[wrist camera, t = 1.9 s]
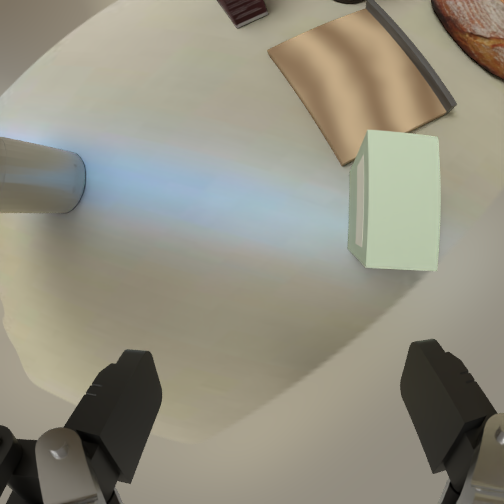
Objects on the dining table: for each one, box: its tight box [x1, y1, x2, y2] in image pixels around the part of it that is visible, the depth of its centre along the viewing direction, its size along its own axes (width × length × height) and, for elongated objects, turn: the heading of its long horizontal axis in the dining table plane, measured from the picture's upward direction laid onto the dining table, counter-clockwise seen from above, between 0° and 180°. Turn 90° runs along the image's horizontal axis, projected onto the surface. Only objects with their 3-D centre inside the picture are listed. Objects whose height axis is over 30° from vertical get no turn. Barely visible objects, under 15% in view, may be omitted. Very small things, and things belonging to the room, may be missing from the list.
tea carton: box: [348, 130, 441, 271], centre depth 23 cm, size 4×8×15 cm, turn 178°
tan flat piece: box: [267, 0, 457, 166], centre depth 28 cm, size 15×16×3 cm
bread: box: [431, 0, 504, 79], centre depth 20 cm, size 16×20×10 cm
